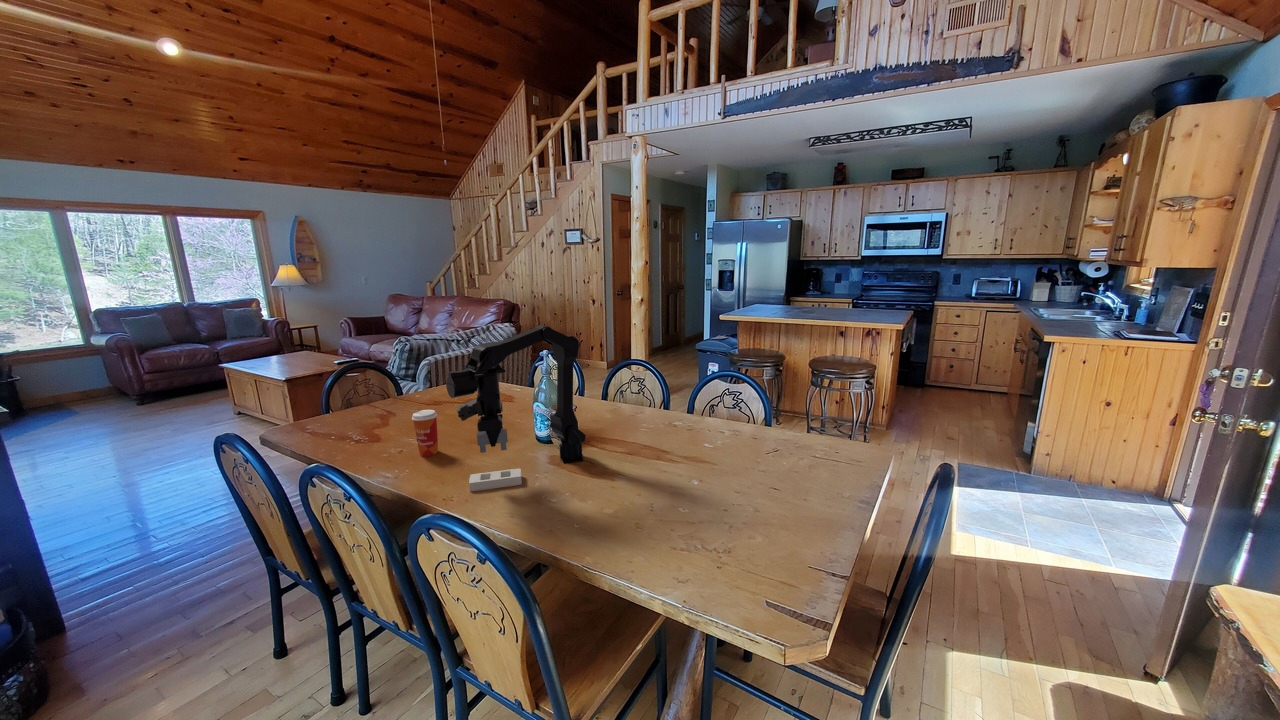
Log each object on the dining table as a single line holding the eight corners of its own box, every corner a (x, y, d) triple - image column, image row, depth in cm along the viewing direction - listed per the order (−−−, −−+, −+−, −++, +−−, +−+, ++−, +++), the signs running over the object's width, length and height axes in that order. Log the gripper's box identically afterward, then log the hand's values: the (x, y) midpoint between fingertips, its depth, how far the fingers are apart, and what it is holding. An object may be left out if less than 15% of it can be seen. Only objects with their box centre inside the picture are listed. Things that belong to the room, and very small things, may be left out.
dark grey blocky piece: (508, 445, 139) (506, 428, 138) (508, 449, 136) (507, 432, 135) (478, 449, 137) (477, 431, 136) (478, 453, 134) (476, 435, 133)
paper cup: (411, 455, 160) (405, 415, 157) (429, 447, 167) (424, 408, 164) (429, 459, 157) (424, 417, 154) (446, 450, 164) (442, 410, 161)
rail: (521, 476, 143) (520, 468, 143) (521, 484, 138) (521, 476, 137) (471, 482, 140) (470, 474, 139) (469, 491, 134) (468, 483, 134)
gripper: (460, 384, 140) (465, 436, 143) (454, 403, 122) (460, 461, 125) (500, 381, 142) (504, 431, 146) (500, 398, 125) (504, 455, 128)
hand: (493, 444), depth 136 cm, fingers closed on dark grey blocky piece, 3 cm apart
